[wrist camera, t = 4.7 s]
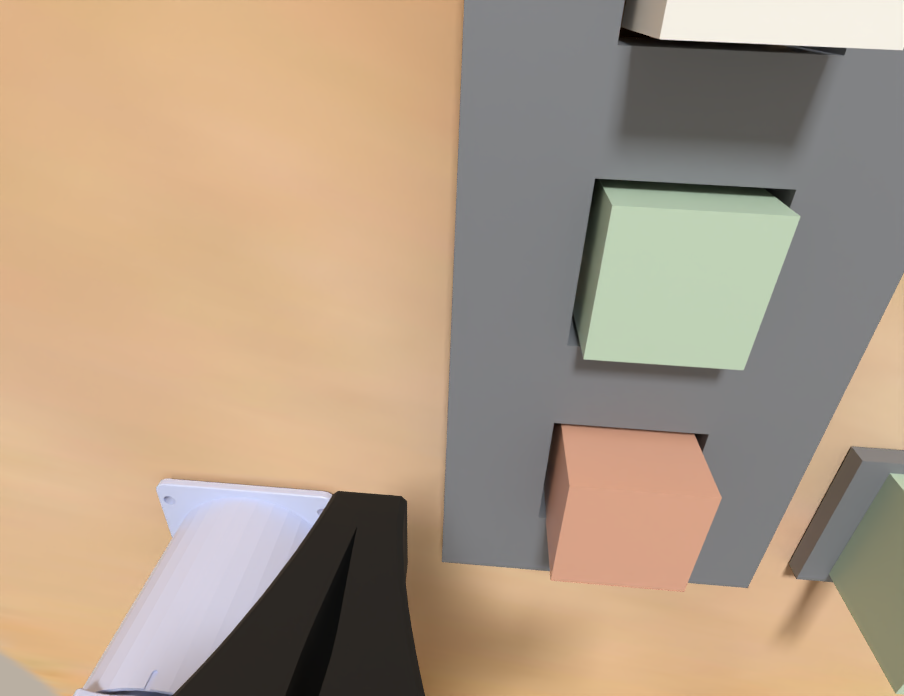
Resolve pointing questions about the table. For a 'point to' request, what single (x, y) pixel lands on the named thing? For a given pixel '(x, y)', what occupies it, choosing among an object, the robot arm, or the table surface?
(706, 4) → the cream block
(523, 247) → the button board
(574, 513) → the terracotta block
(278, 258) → the table surface
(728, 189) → the sage block
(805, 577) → the card
